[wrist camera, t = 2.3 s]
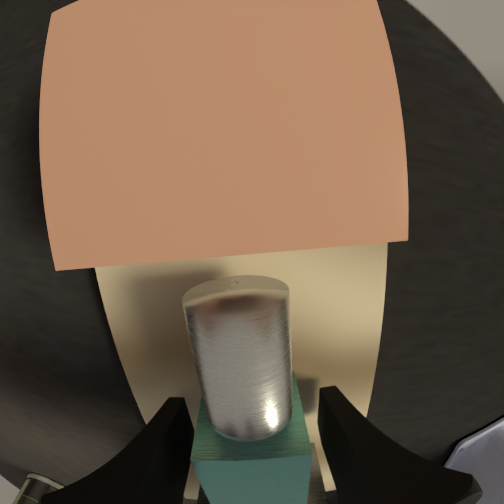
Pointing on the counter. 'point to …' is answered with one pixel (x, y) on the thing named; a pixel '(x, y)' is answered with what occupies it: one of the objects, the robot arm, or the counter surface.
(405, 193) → the socket
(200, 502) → the gray notched block
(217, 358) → the tube
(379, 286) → the board
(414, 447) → the counter surface
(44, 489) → the coffee can
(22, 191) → the counter surface
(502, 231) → the counter surface
